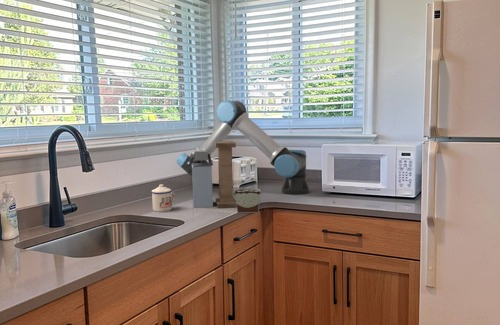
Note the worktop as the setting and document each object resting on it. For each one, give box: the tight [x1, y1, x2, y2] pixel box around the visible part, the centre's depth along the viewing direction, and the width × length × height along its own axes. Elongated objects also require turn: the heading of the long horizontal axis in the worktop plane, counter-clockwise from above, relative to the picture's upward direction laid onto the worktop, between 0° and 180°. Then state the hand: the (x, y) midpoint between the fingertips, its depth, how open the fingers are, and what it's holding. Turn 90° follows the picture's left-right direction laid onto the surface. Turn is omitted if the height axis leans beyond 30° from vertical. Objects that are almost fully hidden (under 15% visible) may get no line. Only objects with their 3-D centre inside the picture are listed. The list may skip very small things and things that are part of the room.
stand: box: [214, 140, 237, 209], centre depth 208 cm, size 14×9×30 cm, turn 8°
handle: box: [194, 150, 208, 161], centre depth 213 cm, size 19×6×4 cm, turn 8°
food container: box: [233, 187, 262, 214], centre depth 195 cm, size 12×6×10 cm, turn 84°
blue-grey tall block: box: [191, 163, 214, 209], centre depth 210 cm, size 11×9×20 cm
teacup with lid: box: [151, 184, 176, 213], centre depth 202 cm, size 12×9×12 cm
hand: (200, 150), depth 214 cm, fingers closed on handle, 2 cm apart
